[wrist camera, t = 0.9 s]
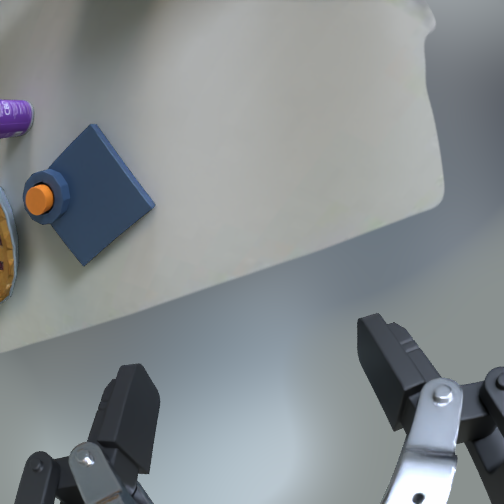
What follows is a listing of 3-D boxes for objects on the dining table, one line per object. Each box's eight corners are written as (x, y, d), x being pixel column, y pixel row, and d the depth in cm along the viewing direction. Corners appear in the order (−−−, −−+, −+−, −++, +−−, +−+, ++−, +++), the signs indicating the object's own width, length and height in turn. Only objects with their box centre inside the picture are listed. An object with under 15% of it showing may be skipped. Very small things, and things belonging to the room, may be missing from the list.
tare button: (29, 196, 27) (21, 199, 26) (43, 178, 27) (35, 181, 25) (43, 216, 28) (35, 221, 27) (58, 199, 28) (50, 203, 26)
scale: (31, 189, 30) (15, 195, 27) (94, 120, 28) (80, 120, 25) (86, 263, 34) (74, 275, 31) (156, 204, 32) (148, 212, 29)
